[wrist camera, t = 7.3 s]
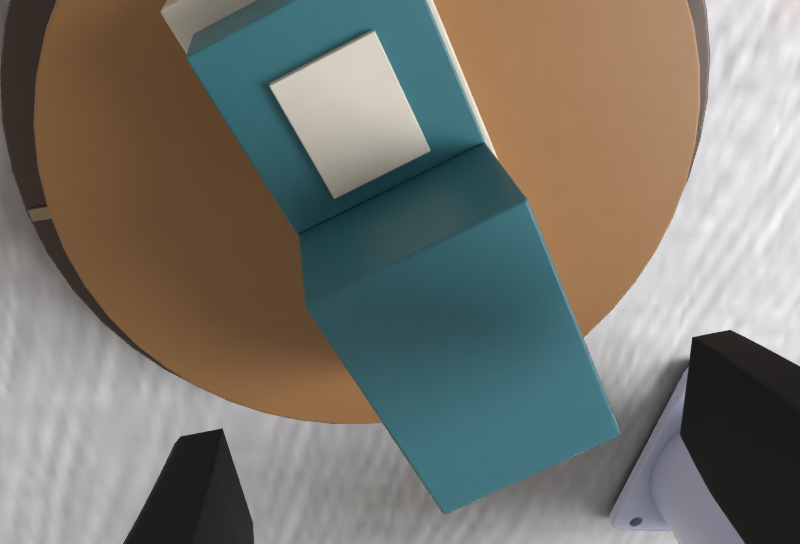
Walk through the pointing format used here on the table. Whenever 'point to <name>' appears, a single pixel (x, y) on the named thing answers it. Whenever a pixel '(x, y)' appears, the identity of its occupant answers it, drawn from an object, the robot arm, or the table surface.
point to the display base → (18, 84)
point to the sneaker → (374, 204)
